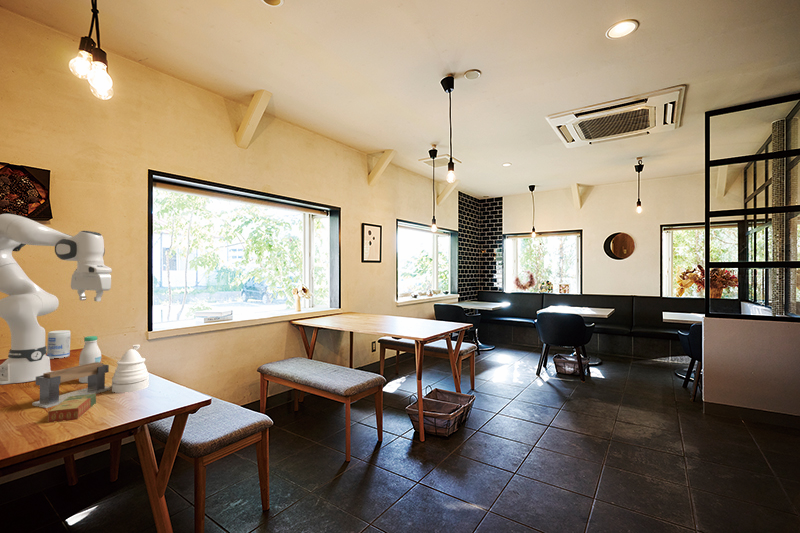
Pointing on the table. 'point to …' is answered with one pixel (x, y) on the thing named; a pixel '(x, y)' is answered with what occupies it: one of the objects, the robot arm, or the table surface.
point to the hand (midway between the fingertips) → (90, 300)
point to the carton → (72, 408)
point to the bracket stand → (52, 397)
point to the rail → (75, 372)
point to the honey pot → (130, 373)
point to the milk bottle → (89, 354)
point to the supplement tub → (58, 344)
